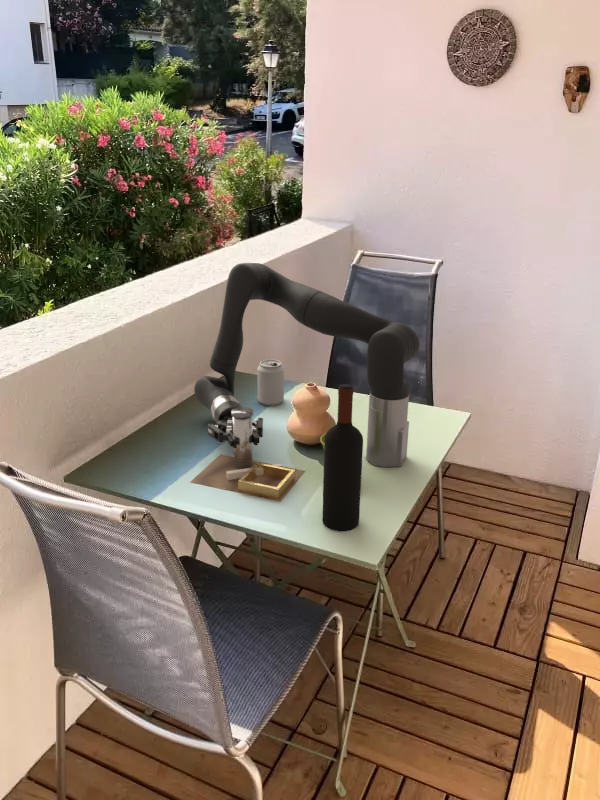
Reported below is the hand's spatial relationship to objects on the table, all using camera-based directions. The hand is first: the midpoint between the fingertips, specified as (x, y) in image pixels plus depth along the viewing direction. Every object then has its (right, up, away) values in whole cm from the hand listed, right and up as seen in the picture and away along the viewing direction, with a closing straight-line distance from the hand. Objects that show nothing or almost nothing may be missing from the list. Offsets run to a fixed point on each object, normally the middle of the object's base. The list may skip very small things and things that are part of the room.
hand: (245, 443), depth 165 cm
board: (+1, -9, 0) cm, 9 cm away
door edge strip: (+2, -8, +1) cm, 9 cm away
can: (+4, +9, +43) cm, 45 cm away
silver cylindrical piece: (-1, -6, +5) cm, 8 cm away
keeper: (+5, -10, -3) cm, 12 cm away
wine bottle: (+21, -16, -15) cm, 30 cm away
